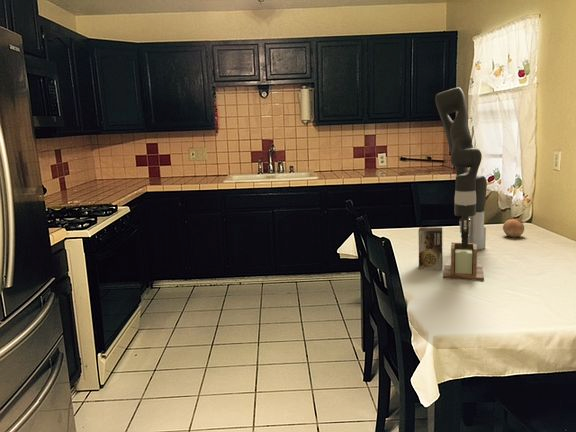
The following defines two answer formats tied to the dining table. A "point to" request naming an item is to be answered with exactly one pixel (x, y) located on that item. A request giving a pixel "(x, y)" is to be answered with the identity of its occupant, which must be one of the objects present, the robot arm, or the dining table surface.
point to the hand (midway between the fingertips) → (464, 247)
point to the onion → (513, 228)
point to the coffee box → (430, 248)
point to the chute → (476, 271)
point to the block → (463, 261)
